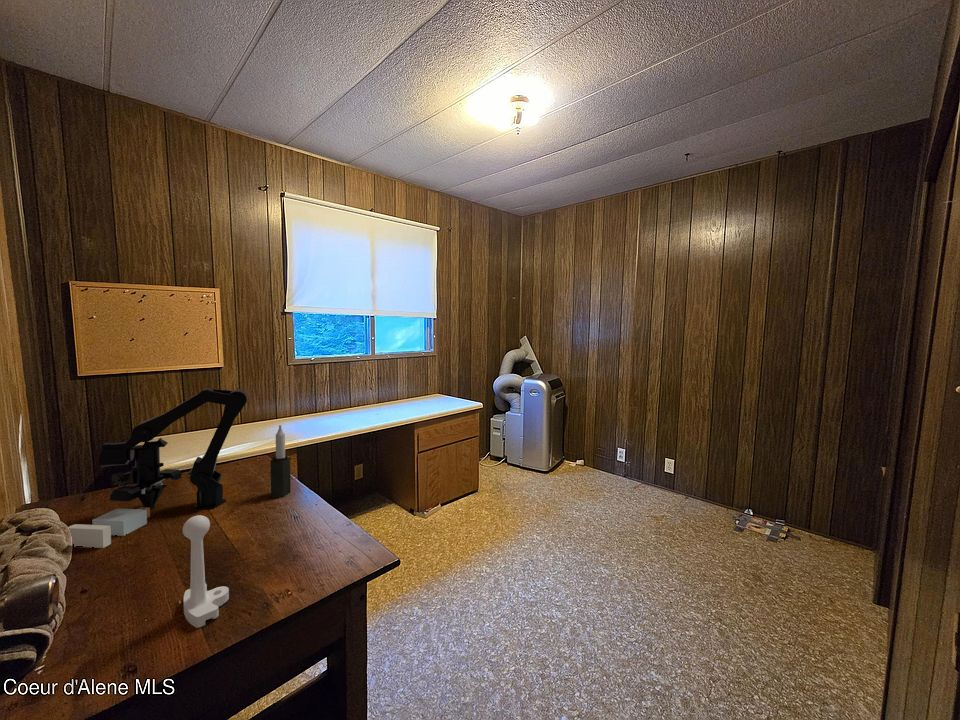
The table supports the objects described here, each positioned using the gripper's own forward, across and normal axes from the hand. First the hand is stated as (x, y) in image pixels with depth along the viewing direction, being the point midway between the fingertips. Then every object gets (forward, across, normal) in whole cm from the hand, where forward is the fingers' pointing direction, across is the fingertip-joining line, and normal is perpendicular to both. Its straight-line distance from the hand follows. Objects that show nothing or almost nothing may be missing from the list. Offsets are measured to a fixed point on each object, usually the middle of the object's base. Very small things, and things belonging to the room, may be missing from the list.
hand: (149, 510), depth 118 cm
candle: (+1, -18, +32) cm, 36 cm away
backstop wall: (+1, +18, 0) cm, 18 cm away
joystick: (+1, +37, +48) cm, 60 cm away
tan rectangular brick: (+1, +4, 0) cm, 4 cm away
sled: (+1, +9, 0) cm, 9 cm away
